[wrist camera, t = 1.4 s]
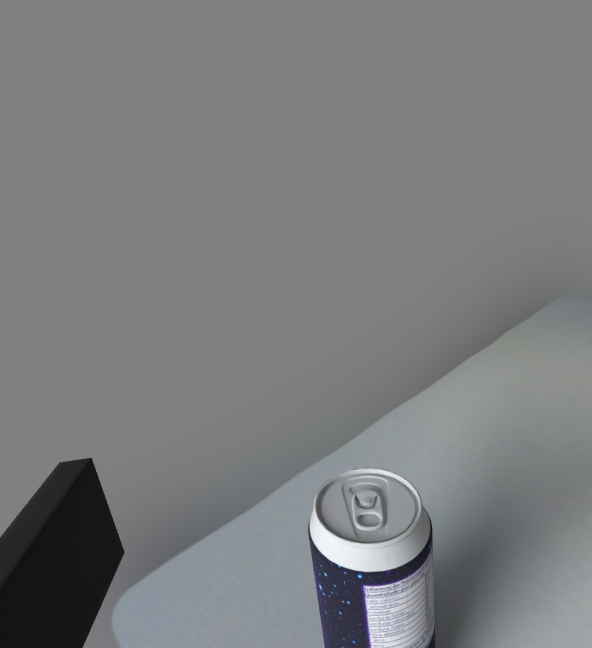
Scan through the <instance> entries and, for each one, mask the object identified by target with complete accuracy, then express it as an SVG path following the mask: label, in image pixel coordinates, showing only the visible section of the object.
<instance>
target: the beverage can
mask: <svg viewBox="0 0 592 648" xmlns="http://www.w3.org/2000/svg"><path fill="white" fill-rule="evenodd" d="M308 533H309V540H310V547H311V554H312V561H313V568H314V575H315V582H316V589H317V595H318V602H319V609H320V616H321V623H322V630H323V637H324V644H325V648H435V623H434V581H433V539H432V524H431V520H430V517H429V515H428V513H427V511H426V509H425V508H424V506H423V505H422V500H421V497H420V495H419V493H418V491H417V490H416V488H415V487H414V486H413V485H412V484H411V483H410V482H409V481H408V480H406V479H405V478H403V477H402V476H400V475H398V474H395V473H393V472H390V471H387V470H382V469H376V468H360V469H353V470H349V471H346V472H343V473H340V474H338V475H336V476H334V477H333V478H331V479H330V480H328V481H327V482H326V483H325V484H324V485H323V486H322V487H321V488H320V490H319V491H318V493H317V495H316V498H315V501H314V510H313V512H312V514H311V517H310V520H309V526H308Z"/></svg>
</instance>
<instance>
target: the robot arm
mask: <svg viewBox="0 0 592 648" xmlns="http://www.w3.org/2000/svg"><path fill="white" fill-rule="evenodd" d="M123 555H124V549H123V547H122V544H121V541H120V538H119V535H118V532H117V529H116V526H115V524H114V521H113V518H112V515H111V513H110V509H109V507H108V504H107V501H106V498H105V495H104V492H103V489H102V487H101V484H100V481H99V478H98V475H97V472H96V469H95V467H94V464H93V461H92V458H87V459H81V460H74V461H68V462H60V463H59V464H58V465H57V467H56V468H55V469H54V470H53V472H52V473H51V474H50V475H49V477H48V478H47V479H46V480H45V482H44V483H43V484H42V486H41V487H40V488H39V489H38V490H37V492H36V493H35V494H34V496H33V497H32V498H31V499H30V501H29V502H28V503H27V504H26V506H25V507H24V508H23V509H22V511H21V512H20V513H19V515H18V516H17V517H16V518H15V520H14V521H13V522H12V523H11V525H10V526H9V527H8V528H7V530H6V531H5V532H4V534H3V535H2V536H1V537H0V648H83V646H84V643H85V641H86V639H87V636H88V634H89V632H90V629H91V627H92V625H93V623H94V621H95V618H96V616H97V614H98V611H99V609H100V607H101V605H102V602H103V600H104V598H105V595H106V593H107V591H108V589H109V586H110V584H111V582H112V580H113V577H114V575H115V573H116V570H117V568H118V566H119V563H120V561H121V559H122V557H123Z"/></svg>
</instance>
